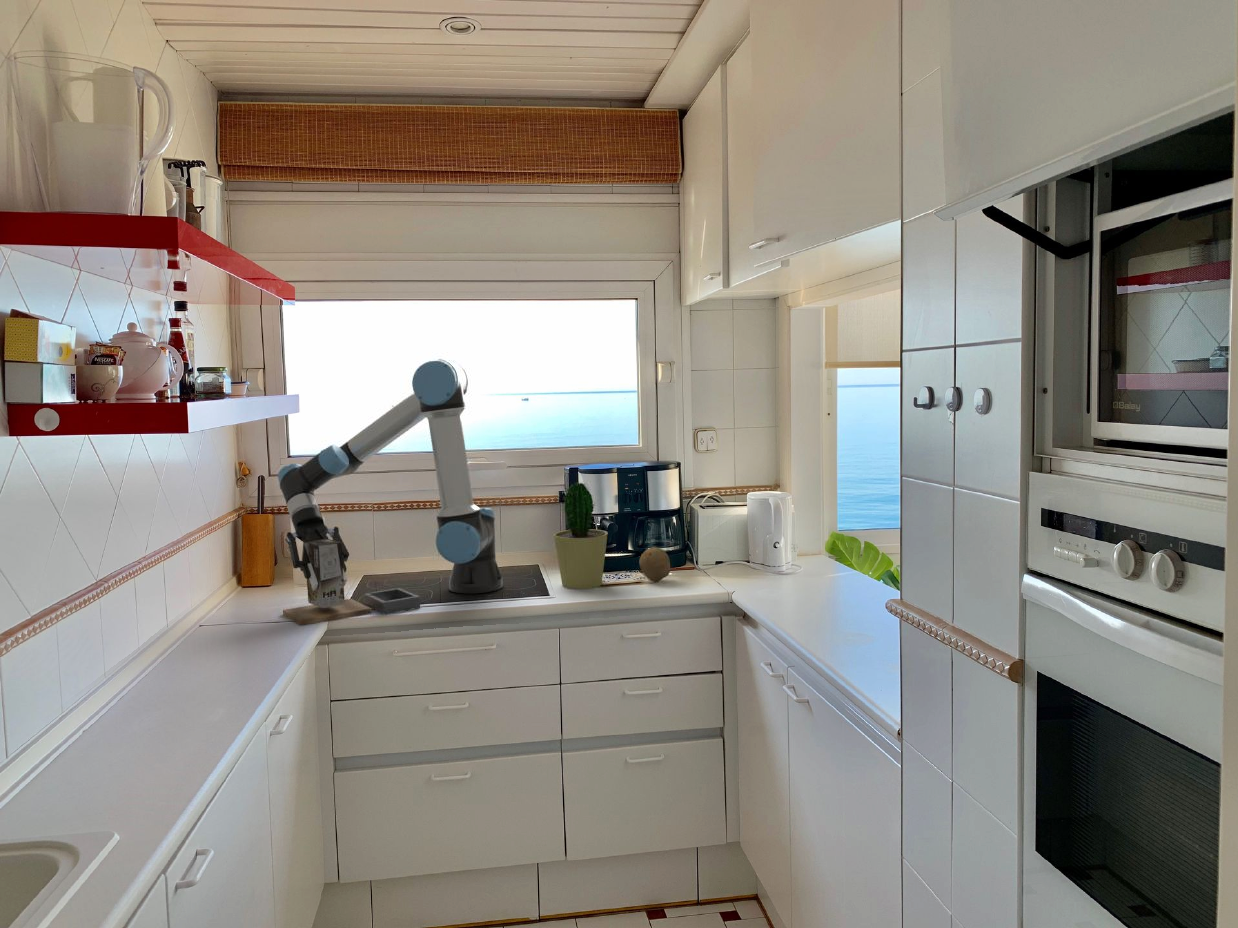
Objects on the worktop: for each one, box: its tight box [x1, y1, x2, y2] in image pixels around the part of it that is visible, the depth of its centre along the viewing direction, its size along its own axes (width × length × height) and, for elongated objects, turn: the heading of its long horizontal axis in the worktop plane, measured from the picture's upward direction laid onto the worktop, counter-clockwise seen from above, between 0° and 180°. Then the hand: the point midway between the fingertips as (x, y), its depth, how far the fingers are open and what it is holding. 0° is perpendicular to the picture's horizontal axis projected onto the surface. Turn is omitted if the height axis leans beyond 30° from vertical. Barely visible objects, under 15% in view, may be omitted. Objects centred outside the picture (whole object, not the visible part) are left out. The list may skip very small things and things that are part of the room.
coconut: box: [638, 546, 671, 583], centre depth 266 cm, size 9×9×10 cm
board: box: [282, 598, 372, 626], centre depth 237 cm, size 18×14×1 cm
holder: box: [363, 587, 421, 615], centre depth 244 cm, size 10×13×3 cm
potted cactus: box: [553, 482, 609, 590], centre depth 263 cm, size 15×15×30 cm
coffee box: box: [304, 539, 346, 608], centre depth 237 cm, size 9×6×16 cm
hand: (330, 584), depth 234 cm, fingers closed on coffee box, 7 cm apart
